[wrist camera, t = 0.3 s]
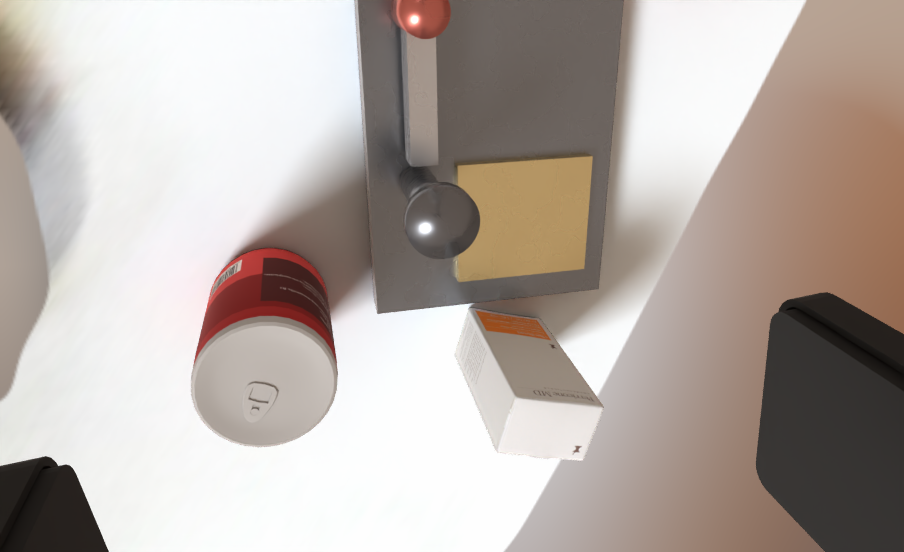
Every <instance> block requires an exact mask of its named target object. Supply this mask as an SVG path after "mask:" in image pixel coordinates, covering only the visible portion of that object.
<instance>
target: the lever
mask: <svg viewBox="0 0 904 552" xmlns="http://www.w3.org/2000/svg"><path fill="white" fill-rule="evenodd" d="M391 14H392V17H393V20H394V22H395V23H396V25H397V26H398V27H399V28H400V29H401V51H402V76H403V101H404V126H405V151H406V159H407V161H408V163H409V164H410V166H411V167H418V166H432V165H438V116H437V65H436V37H437V36H438V35H440V34H441V33H442V32H443V31H444V30H445V29H446V27H447V25H448V23H449V20H450V16H451V8H450V3H449V1H448V0H392V2H391Z"/></svg>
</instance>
